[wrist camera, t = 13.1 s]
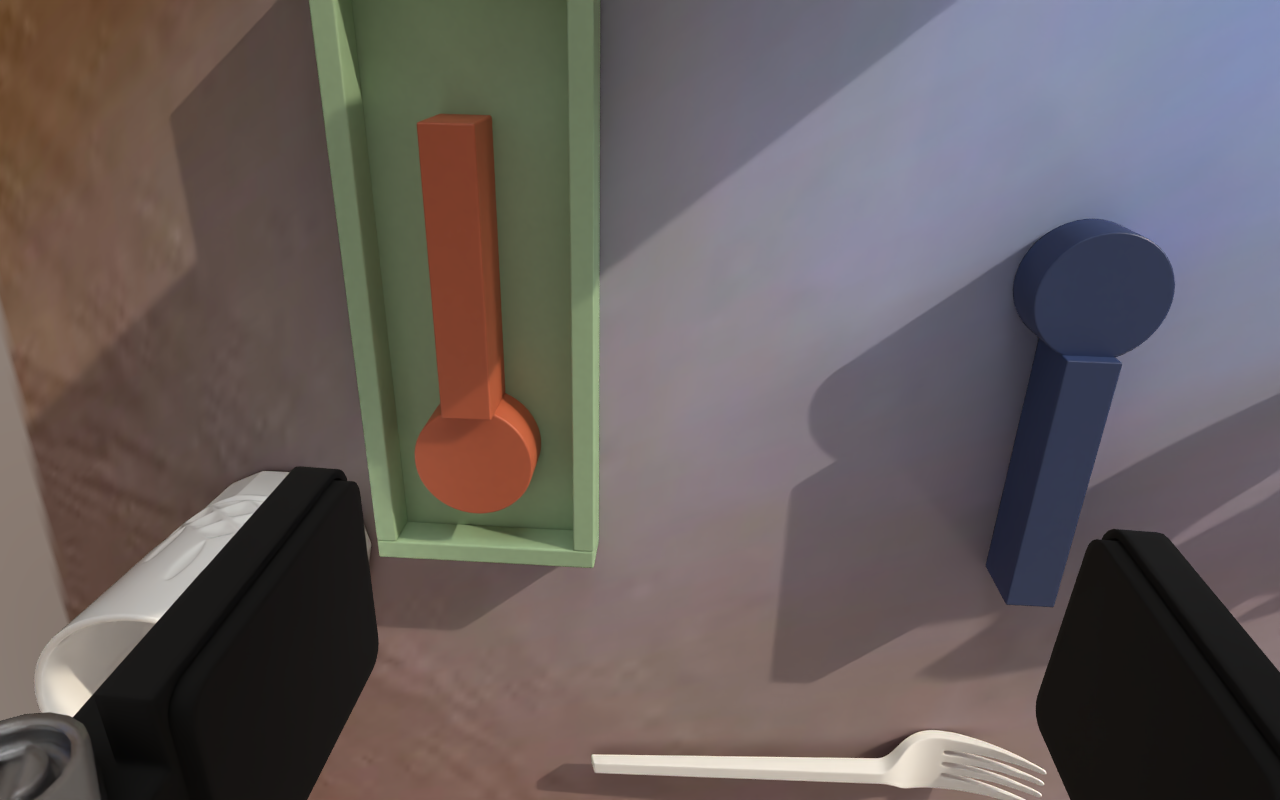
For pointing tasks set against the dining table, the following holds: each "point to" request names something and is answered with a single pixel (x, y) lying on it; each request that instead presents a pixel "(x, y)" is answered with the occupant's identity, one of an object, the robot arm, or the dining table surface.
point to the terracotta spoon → (468, 327)
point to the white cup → (142, 598)
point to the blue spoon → (1069, 388)
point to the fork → (855, 766)
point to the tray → (527, 243)
